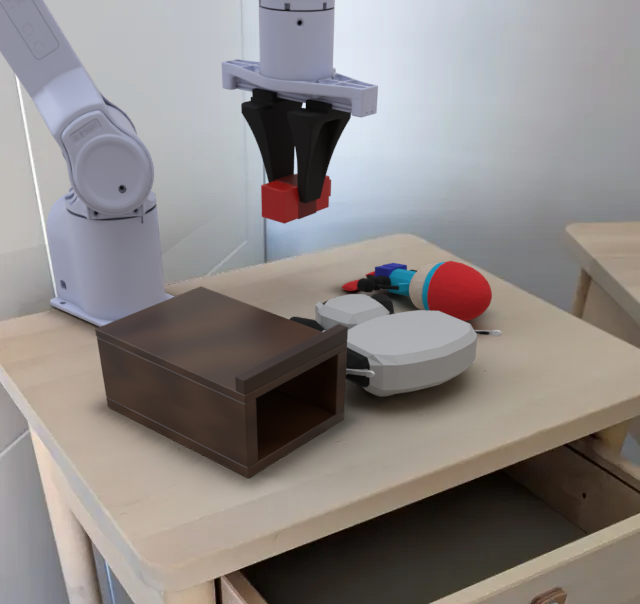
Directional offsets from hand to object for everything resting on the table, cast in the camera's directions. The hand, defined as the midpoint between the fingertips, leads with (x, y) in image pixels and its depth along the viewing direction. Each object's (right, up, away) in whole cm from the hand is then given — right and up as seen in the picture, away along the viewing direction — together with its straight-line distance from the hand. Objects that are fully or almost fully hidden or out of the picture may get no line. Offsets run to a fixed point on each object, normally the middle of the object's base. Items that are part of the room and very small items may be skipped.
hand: (295, 195), depth 73 cm
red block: (0, -1, +1) cm, 1 cm away
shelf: (-5, -21, -11) cm, 24 cm away
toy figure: (+11, -9, +4) cm, 15 cm away
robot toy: (+7, -16, -5) cm, 18 cm away
